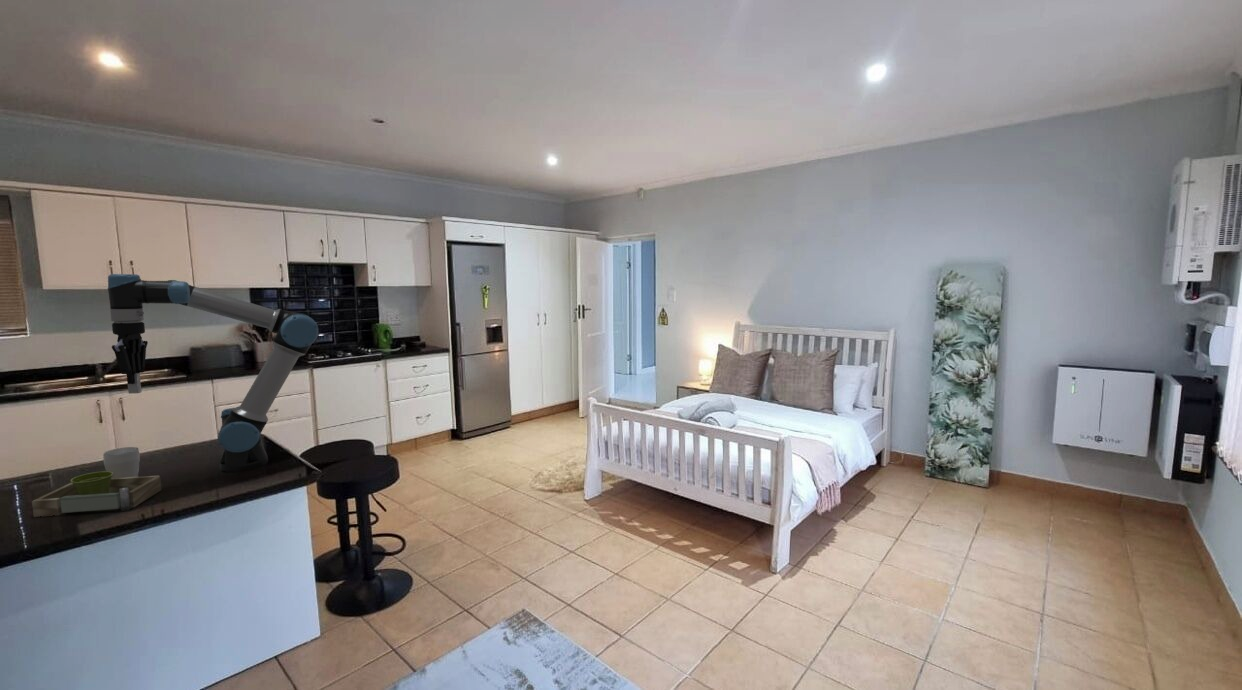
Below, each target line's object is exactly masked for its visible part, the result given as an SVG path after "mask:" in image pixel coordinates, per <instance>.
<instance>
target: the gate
mask: <svg viewBox="0 0 1242 690" xmlns="http://www.w3.org/2000/svg"><path fill="white" fill-rule="evenodd" d="M60 501H61V511H62V514H64V513H65V514H66V513H68V512H71V513H78V512H91V511H104V510H105V511H106V510H117V509H118V510H119V508H120V509H121V502H120V493H105V494H91V495H77V496H63V497H62V498H60Z"/></svg>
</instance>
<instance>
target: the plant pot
mask: <svg viewBox="0 0 1242 690" xmlns="http://www.w3.org/2000/svg"><path fill="white" fill-rule="evenodd" d="M112 475H113V472H109V471H106V470H105V471H104V470H103V471H94V472H90V473H85V474H81V475H77V476H74V477H73V478H70V482H69V483H73V485H74V486H75V488H76V491H77V494H78V495H91V494H105V493H109V486H110V480H111V477H112Z"/></svg>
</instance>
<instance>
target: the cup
mask: <svg viewBox="0 0 1242 690" xmlns="http://www.w3.org/2000/svg"><path fill="white" fill-rule="evenodd" d="M102 457H103V460H102V461H103V465H104V468H105V471H109V472H113V475H112V477H111V478H124V477H139V471H140V469H139V468H140V460H141V455H140V450H139V447H136V446H127V447H126V446H125V447H120V448H118V447H117V448H114V449H110V450H108V451H104V452H103V456H102Z"/></svg>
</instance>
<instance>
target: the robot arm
mask: <svg viewBox="0 0 1242 690" xmlns="http://www.w3.org/2000/svg"><path fill="white" fill-rule="evenodd" d="M107 285H108V286H107V291H108V297H109V298H108V300H109V307H110V320H111V321H112V324H111V327H112V333H113V335H117V338H116V339H117V343H116V344H113V345H112V346H111V349H112V351H113V352H114V355H115V358H116V362H117V365H118V366H117V367H119V372H120V374H122V375H126V382H127V389H128V390H127V393H128V394H140V393H142V384H141V383H142V382H141V373H143V374H144V373H145V367H146V357H147V347H148V343H149V342H148V341H147V340H143V336H142V334H145V332H146V328H145V323H144V314H145V313H144V309H143V307H144V306H143V304H175V305H182V306H185V307H190V308H193V309H196V310H200V311H203V312H207V313H210V314H214V315H219V316H222V317H225V318H229V319H233V320H236V321H240V322H243V323H246V324H251V325H254V326H256V327H261V328H266V329H268V331H269V332H270V333H273V334H275V336H274V338H273V339H272V341H271V343H272V344H273V348H272V351H271V352H270V353H269V356H268V357H267V359H266V361H265V363H264V364H263V366H262V367H261V369H260V371H259V373H258V375H256V378H255V380H254V381H253V383H252V385H251V386H250V388H249V390H248V392H247V393H246V395H245V397H244V398H243V399H242V402H241V404H240V405H239V406H236V407H232V408H231V407H230V408H225V409H223V410H222V411H221V415H220V419H221V427H220V430H219V432H218V434H217V438H218V439H217V440H218V443H219V445H220V446H221V448H223V451H222V454H221V456H220V460H219V466H218V467H219V470H220V471H221V472H228V473H237V472H246V471H250V470H255V469H257V468H260V467H262V466H264V465H266V464H268V462H269V457H268V454H267V452H266V450H265V448H264V446H263V443H262V435H261V434H262V432H263V430H264V428H265V427H266V424H267V423H268V421H269V419H268V416H267V413H268V412H269V410H270V408H271V407H272V405H273V403H274V402H275V400H276V398H277V396H278V394H279V392H280V390H281V389H282V387H283V385H284V384H285V382H286V381H287V379H288V377H289V375H290V374H291V372H292V370H293V369H294V367H295V365H296V363H297V361H298V359H299V358H300V357H303V356H306V355H307V353H308V351H309V349H310V347H311V346H312V344H313V343H314V342H315V341H316V340H317V339H318V337H319V326H318V324H317V322H316V320H314V319H313V318H312V317H311V316H309V315H307V314H305V313H301V312H295V311H290V310H289V311H288V310H285V309H281V308H278V309H272V308H269V307H266V306H262V305H259V304H255V303H252V302H249V301H246V300H242V299H237V298H236V297H232V296H228V295H225V294H221V293H218V292H215V291H211V290H207V289H205V288H201V287H197V286H193V285H191V284H189V283H188V282H187V281H183V280H182V281H181V280H175V279H169V280H142V278H141V276H140V275H139V274H136V273H135V274H132V273H131V274H129V273H128V274H127V273H124V274H123V273H111V274H109V275H108V277H107Z"/></svg>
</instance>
